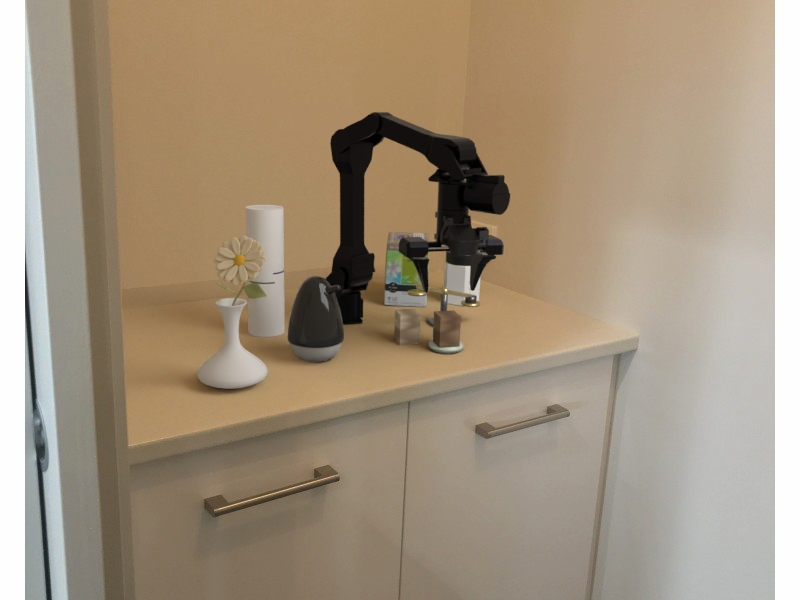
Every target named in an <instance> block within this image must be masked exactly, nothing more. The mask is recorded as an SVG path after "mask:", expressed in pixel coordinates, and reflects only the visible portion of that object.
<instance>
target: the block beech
mask: <svg viewBox="0 0 800 600" xmlns="http://www.w3.org/2000/svg"><path fill="white" fill-rule="evenodd" d="M421 317H422V316H421V313H420V312H419V311H418V310H417V309H416V308H404V309H403V308H399V309H395V310H394V331H393V332H394V333H393V334H394V335H393V339H394V341H396V343H397V344H398V345H399V346H405V345H420V341H421V340H420V338H421Z"/></svg>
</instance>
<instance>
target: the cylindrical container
mask: <svg viewBox="0 0 800 600" xmlns="http://www.w3.org/2000/svg"><path fill="white" fill-rule="evenodd" d="M284 213H285V211H284V206H282V205H278V204H277V205H276V204H250V205H247V206H245V232H246V234H245V236H246V237H248V238H252V240H255V241H258V242H259V244H261V245H262V246H263V248H262V250H263V251H264V255H263V257H265V258H266V261H265V262H264V265H263V266H262V270H260V271H258V273H259V274H258V276H256V278H255V279H252V280H251V281H246V285H248V284H251V283H257V284H258V285H259V286H260V287H261V288H262V289H263V291H264V292H265V294H266V295H267V296H265V297H261V298H255V299H251V298H249V297H248V296H247V321H248V322H247V324H248V327H247V328H248V330H247V331H248V334H249V335H250V336H252V337H259V338H272V337H278V336H281V335H283V334H285V332H286V331H285V328H286V327H285V241H284V240H285V239H284V238H285V235H284V234H285V232H284V231H285V229H284V228H285V227H284V224H285V223H284V222H285V221H284V220H285V219H284V217H285V215H284Z"/></svg>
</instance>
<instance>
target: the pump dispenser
mask: <svg viewBox="0 0 800 600" xmlns="http://www.w3.org/2000/svg"><path fill="white" fill-rule="evenodd" d="M340 290H341V286H340V285H334V286H331V285H330V283H329V282H328V281H327V280H326V277H322V276H320V275H313V276H309V277H307V278H305V280H303V282H302V283H301V284H300V286H299V287H298V290H297V292H296V294H295V297H294V300H293V303H292V305H291V308H290V309H291V310H290V314H289V318H288V326H287V334H286V335H287V341H288V342H289V346H290V348H291V351H292V353H293V354H294V355H295V356H296V357H298V358H299V359H301V360H303V361H306V362H309V363H310V362H312V363H321V362H325V361H328V360H331V359H332V358H333V357H335V356H336V355H337V354H338V352H340V351H339V350H340V349H341V346H342V344H343V342H344V340H345V330H344V324H343V321H342V315H341V311H340V307H339V304H338V300H337V297H336V295H335V292H337V291H340Z"/></svg>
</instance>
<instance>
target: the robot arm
mask: <svg viewBox="0 0 800 600" xmlns="http://www.w3.org/2000/svg"><path fill="white" fill-rule="evenodd" d="M384 139H388V140H390V141H392V142H395V143H397V144H399V145H402V146H404V147H406V148H409V149H411V150H414V151H416V152H417V153H420V154H421V155H423V156H424V157H425V159H426V160H427V161H428V162H429V163H430V164H431V165H433V166H435V167H436V168H437V169H436V170H435V172H434V173H433V174H432V175H430V176H429V177H428V179H427V180H428V182H432V183H434V182H435V183H438V186H437V207H436V211H435V212H434V213H435V214H434V218H436V231H435V232H436V233H434V238H433V239H434V240H435V241H433V240H432V241H430V240H429V242H427V241H426V240H424V239H423V238H421V237H402V239H401V240H400V242H399V252H400V253H401V254H403V255H404V256H405V257H407V258H409V259H410V260H411V261H413V263H414V265H415V267H416V270H417V272H418V275H419V278H420V281H421V284H422V287H423V290H424V292H425V293H427V294H428V293H429V291H428V286H429V269H428V263H429V264H430V258H429V259H428V258H427V257H426V255H427V254H428V252H429V253H430V252H431V253H432V252H446V251H450V253H451V254H452V255H453V256H461V255H470V256H471V266H470V289H471V290H472V291H474V290H475V288H476V285H477V283H478V280H479V278H480V276H482V273H483V271H484V269H485V267H486V266H487V265H488V264H489V263H490V262H491V261H492V260H496V258H497V256H498V255H499V256H500V255H501V256H502V255H504V247H505V246H504V242H503V240H502V239H501V238H499V237H497V236H495V235H493V234H489V233H490V230H489V229H488V227H487V226H477V227H474V228H473V227H472V218H471V217H472V216H471V215H470V214H469V211H472V212H476V213H477V212H478V213H484V214H492V215H499V216H501V215H503V214H504V213H505V212H506V211H507V209H508V207H509V205H510V201H511V193H510V189H509V186H508V184H507V183H506V182H505V175H504V174H494V175H492V174H489V173H488V171H487V170H486V168H485V166H484V164H483V162H482V160H481V158H480V156H479V155H478V152H477V147H476V146H475V145H476V144H475V142H474V141H473V140H472V139H470V138H468V137H463V136H458V135H451V134H450V135H449V134H441V133H436V132H434V131H430V130H429V129H427V128H424V127H421V126H419V125H417V124H414V123H412V122H409V121H407V120H404V119H402V118H399V117H397V116H394V115H393V114H391V113H390V112H387V111H386V112H385V111H380V112H379V111H374V112H371V113H370V114H367V116H364V117H363V118H362V119H360V120H357V121H356V122H353V123H351V124H349V125H347V126H345V127H344V128H341V129H340V128H339V129H337V130H336V131H334V133H333V134H332V135H331V137H330V152H331V159H332V162H333V164H334V165H335V168H336V170H337V171H338V173H339V245H338V247H337V250H336V251H335V254H334V256H333V257H332V265H331V272H330V273H329V274H328V275H327V277H325V279H326V280H327V281H328V282H329V283H330V285H331V286H334V285H340V286H341V290H340V291H337V292H335V295H336V297H337V300H338V304H339V307H340V311H341V315H342V321H343V325H347V324H348V325H349V324H362V323H364V322H363V317H364V299H363V297H362V292H361V291H366V290H367V289H368V287H369V283H370V281H372V279H373V277H374V276H373V275H374V273H376V268H375V256H376V255H375V254H374V252H369V250H368V249H367V247H366V245H365V175H366V172H367V170H368V168H369V166H370V164H371V163H372V158H373V154H374V148H375V147H376V146H377V145H379V144H381V143H383V141H384ZM480 279H481V278H480Z"/></svg>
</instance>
